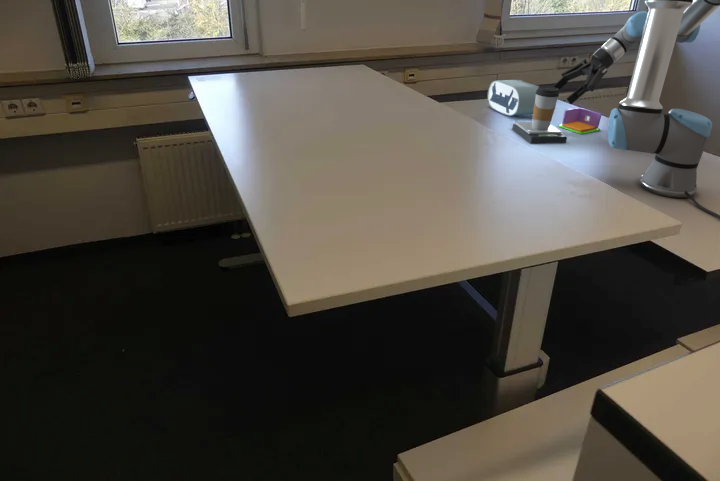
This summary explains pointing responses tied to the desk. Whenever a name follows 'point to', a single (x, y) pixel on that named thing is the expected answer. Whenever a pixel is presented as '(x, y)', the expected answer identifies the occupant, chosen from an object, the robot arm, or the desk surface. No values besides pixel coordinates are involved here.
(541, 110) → the coffee cup
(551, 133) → the scale
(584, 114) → the toy room diorama
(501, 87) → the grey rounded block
